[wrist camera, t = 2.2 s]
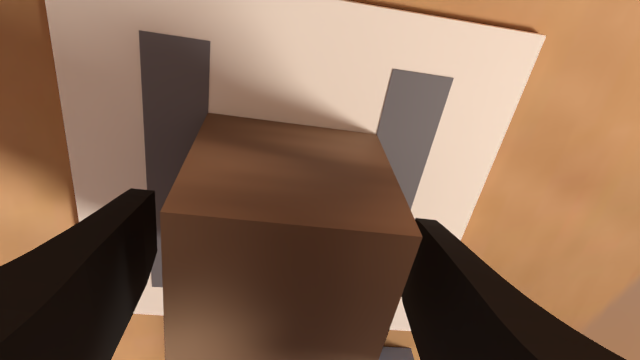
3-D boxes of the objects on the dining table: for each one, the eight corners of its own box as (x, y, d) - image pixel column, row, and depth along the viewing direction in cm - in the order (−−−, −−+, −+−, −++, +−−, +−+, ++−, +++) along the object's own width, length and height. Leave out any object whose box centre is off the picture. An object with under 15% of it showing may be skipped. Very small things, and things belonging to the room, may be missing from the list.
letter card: (96, 304, 16) (92, 311, 15) (43, -53, 10) (36, -52, 10) (420, 326, 17) (422, 332, 17) (540, 33, 12) (547, 36, 11)
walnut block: (204, 248, 14) (165, 382, 10) (207, 112, 12) (159, 211, 7) (345, 260, 15) (367, 391, 11) (376, 134, 12) (422, 237, 8)
